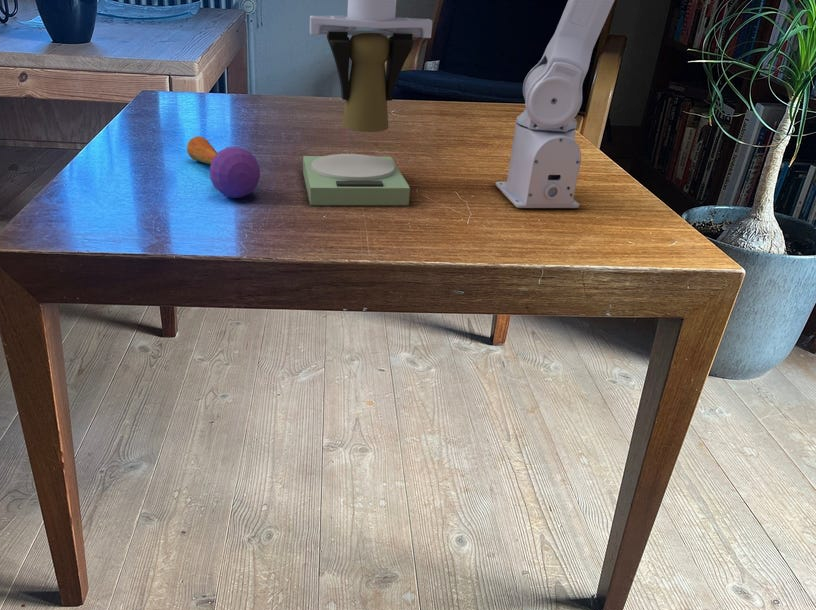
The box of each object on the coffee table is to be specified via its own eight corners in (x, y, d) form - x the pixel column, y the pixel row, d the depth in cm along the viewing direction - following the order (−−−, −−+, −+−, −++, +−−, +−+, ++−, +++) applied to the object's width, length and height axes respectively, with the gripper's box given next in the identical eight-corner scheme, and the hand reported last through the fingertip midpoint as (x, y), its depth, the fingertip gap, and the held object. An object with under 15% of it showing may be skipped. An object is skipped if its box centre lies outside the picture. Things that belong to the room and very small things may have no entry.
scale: (408, 205, 89) (410, 183, 88) (310, 205, 88) (310, 183, 86) (390, 172, 101) (391, 152, 100) (303, 172, 100) (303, 152, 98)
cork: (384, 133, 91) (391, 37, 85) (337, 129, 92) (340, 33, 86) (391, 123, 96) (398, 31, 90) (346, 119, 97) (350, 28, 91)
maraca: (221, 129, 102) (270, 154, 86) (217, 172, 105) (263, 205, 88) (179, 123, 100) (220, 148, 83) (175, 168, 102) (215, 200, 86)
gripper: (428, -24, 89) (417, 93, 96) (308, -28, 88) (307, 91, 95) (440, -20, 83) (428, 104, 90) (312, -25, 82) (310, 102, 89)
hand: (366, 98), depth 92 cm, fingers closed on cork, 5 cm apart
